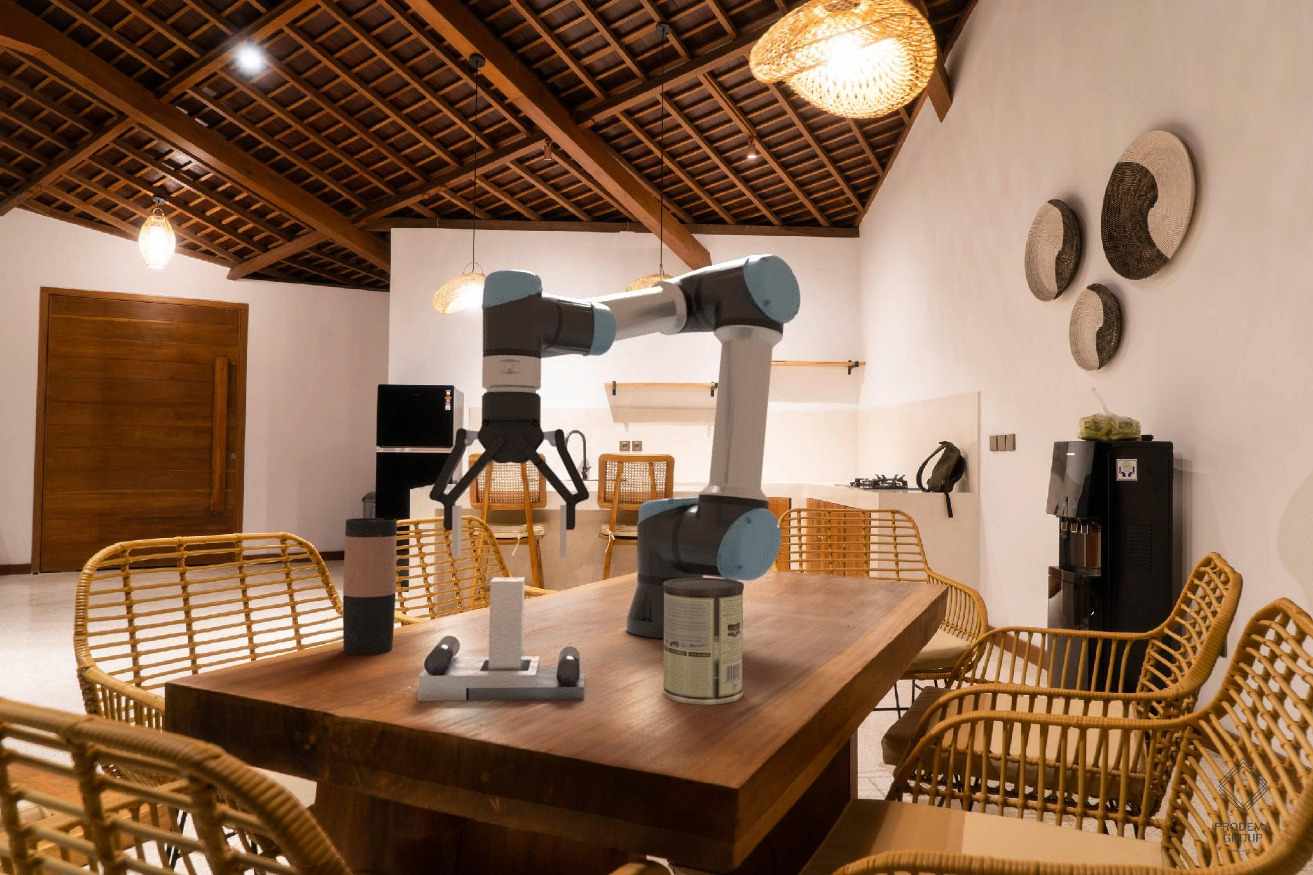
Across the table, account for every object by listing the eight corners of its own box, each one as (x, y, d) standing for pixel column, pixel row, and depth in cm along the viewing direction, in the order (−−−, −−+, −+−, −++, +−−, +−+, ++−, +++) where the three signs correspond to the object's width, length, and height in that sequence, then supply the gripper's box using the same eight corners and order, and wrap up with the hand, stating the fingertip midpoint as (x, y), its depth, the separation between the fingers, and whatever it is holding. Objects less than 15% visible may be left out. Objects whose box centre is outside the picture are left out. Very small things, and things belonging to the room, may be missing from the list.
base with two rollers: (583, 678, 112) (584, 635, 112) (583, 699, 102) (584, 651, 102) (433, 679, 110) (434, 635, 110) (418, 700, 100) (419, 652, 100)
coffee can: (673, 680, 111) (674, 575, 112) (748, 687, 108) (749, 579, 109) (652, 701, 101) (653, 585, 102) (735, 708, 99) (736, 590, 99)
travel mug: (339, 656, 122) (343, 521, 123) (343, 645, 129) (347, 517, 130) (393, 654, 124) (397, 520, 125) (394, 643, 131) (398, 517, 132)
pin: (522, 684, 108) (524, 577, 108) (520, 693, 104) (522, 581, 104) (491, 685, 108) (493, 577, 108) (488, 693, 104) (490, 581, 104)
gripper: (407, 388, 102) (405, 560, 102) (608, 390, 104) (607, 558, 104) (419, 393, 110) (417, 553, 109) (606, 395, 112) (606, 551, 111)
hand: (510, 556), depth 106 cm, fingers open, 13 cm apart
